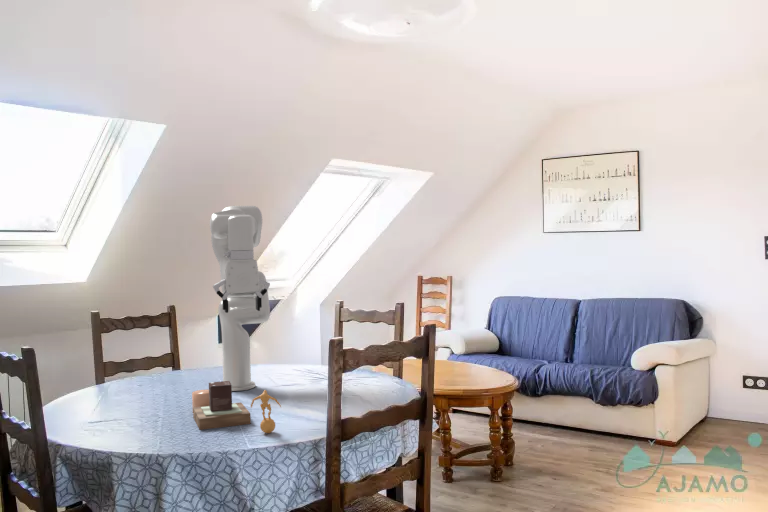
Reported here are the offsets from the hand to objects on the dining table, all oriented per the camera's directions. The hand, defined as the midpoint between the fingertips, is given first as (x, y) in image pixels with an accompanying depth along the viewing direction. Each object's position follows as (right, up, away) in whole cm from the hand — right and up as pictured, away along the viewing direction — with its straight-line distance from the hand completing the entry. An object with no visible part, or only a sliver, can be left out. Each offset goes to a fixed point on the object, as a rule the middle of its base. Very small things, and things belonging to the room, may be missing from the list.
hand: (242, 311), depth 214 cm
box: (-3, -27, -15) cm, 31 cm away
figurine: (+13, -31, -29) cm, 44 cm away
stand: (-3, -30, -15) cm, 34 cm away
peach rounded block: (-11, -30, -4) cm, 32 cm away
